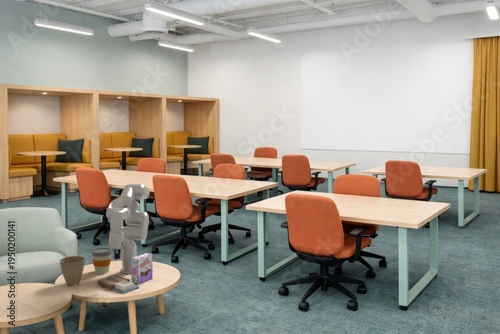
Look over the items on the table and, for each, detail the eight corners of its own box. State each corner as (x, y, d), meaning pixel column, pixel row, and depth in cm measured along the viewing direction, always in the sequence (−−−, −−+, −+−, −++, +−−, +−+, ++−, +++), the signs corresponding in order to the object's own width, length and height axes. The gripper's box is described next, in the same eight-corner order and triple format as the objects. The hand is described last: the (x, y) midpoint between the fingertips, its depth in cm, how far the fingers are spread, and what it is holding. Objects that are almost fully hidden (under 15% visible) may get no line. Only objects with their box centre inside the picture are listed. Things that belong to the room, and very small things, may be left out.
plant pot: (66, 279, 295) (66, 255, 293) (89, 280, 294) (88, 256, 293) (55, 287, 280) (55, 262, 279) (79, 288, 279) (78, 263, 278)
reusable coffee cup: (108, 274, 305) (107, 253, 304) (89, 274, 305) (89, 252, 304) (114, 269, 318) (113, 247, 316) (96, 268, 318) (95, 247, 317)
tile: (125, 284, 286) (125, 280, 285) (133, 286, 281) (133, 283, 281) (114, 287, 279) (114, 283, 279) (123, 290, 274) (123, 286, 274)
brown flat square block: (115, 279, 297) (115, 274, 296) (129, 284, 288) (129, 279, 288) (97, 285, 285) (97, 280, 285) (111, 290, 277) (111, 285, 277)
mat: (128, 284, 288) (128, 282, 288) (139, 288, 282) (139, 286, 282) (112, 289, 278) (112, 288, 278) (123, 293, 272) (123, 292, 272)
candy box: (137, 284, 288) (137, 259, 286) (130, 282, 291) (130, 257, 289) (152, 278, 300) (152, 254, 298) (146, 276, 303) (146, 252, 301)
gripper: (104, 229, 283) (104, 258, 285) (119, 233, 274) (120, 262, 276) (114, 227, 289) (114, 255, 291) (129, 230, 280) (130, 259, 282)
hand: (117, 258), depth 284 cm, fingers closed
